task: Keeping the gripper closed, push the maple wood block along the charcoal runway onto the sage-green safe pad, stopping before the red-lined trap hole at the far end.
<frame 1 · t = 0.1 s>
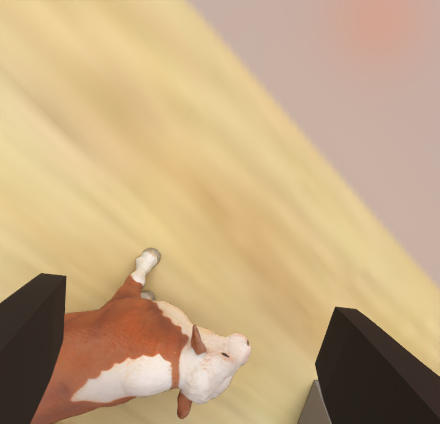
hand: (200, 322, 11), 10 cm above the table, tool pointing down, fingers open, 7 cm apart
bull figurine: (113, 290, 22), on the table
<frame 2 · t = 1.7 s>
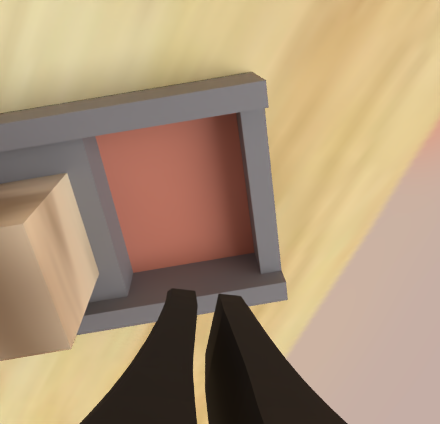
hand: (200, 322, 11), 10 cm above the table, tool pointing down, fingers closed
maple block: (28, 235, 18), point 2 cm above the table, touching trap runway
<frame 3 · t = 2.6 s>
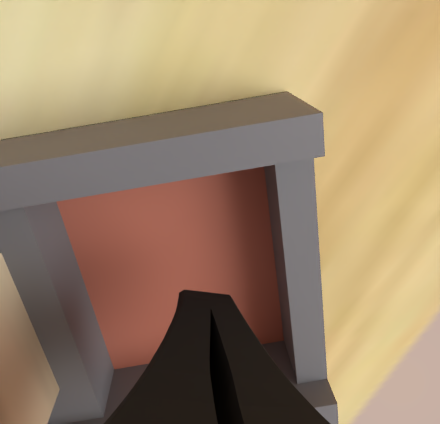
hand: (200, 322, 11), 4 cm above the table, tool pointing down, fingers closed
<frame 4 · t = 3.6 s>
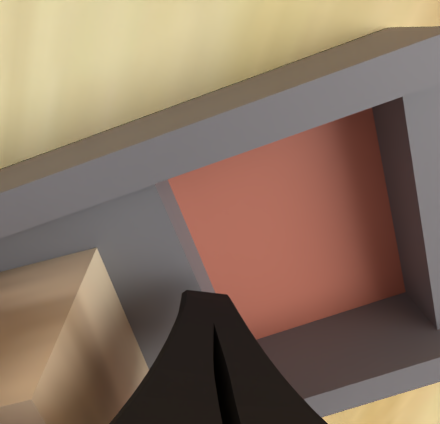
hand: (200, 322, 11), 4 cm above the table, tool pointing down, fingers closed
maple block: (46, 339, 12), point 3 cm above the table, touching gripper, trap runway
trap runway: (23, 313, 15), on the table
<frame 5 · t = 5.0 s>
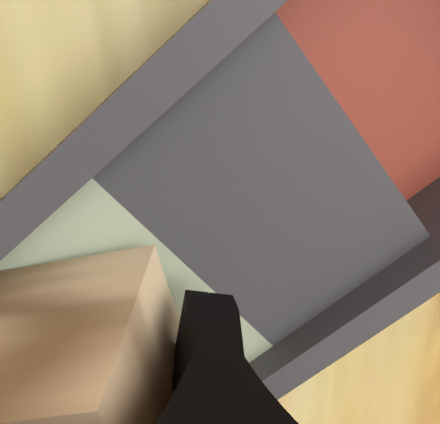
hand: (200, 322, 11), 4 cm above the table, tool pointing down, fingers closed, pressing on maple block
maple block: (97, 329, 12), point 3 cm above the table, tilted 7°, touching gripper, trap runway
trap runway: (174, 244, 14), on the table
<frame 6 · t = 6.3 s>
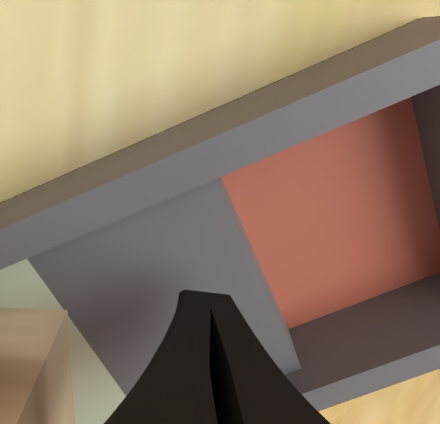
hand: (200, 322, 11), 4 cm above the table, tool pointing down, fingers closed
trap runway: (87, 308, 16), on the table
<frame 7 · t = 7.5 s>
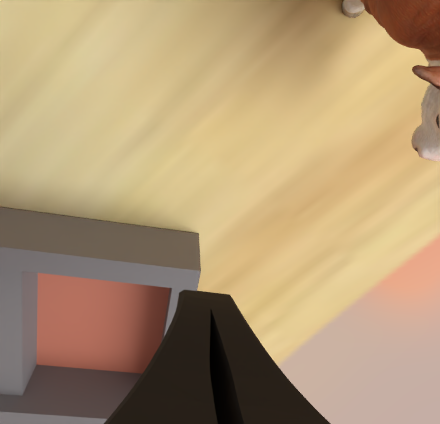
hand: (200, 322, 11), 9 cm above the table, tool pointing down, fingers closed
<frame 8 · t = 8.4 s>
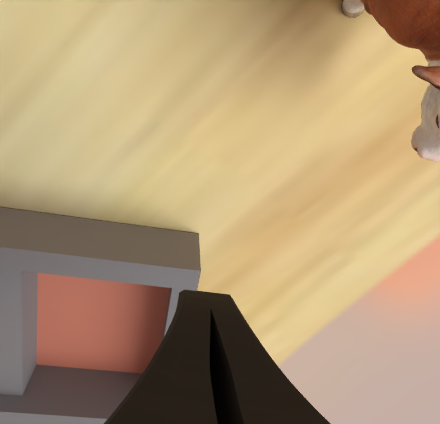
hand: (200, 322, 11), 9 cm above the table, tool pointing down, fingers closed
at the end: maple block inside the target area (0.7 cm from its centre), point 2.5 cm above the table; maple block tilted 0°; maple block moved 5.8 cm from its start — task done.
